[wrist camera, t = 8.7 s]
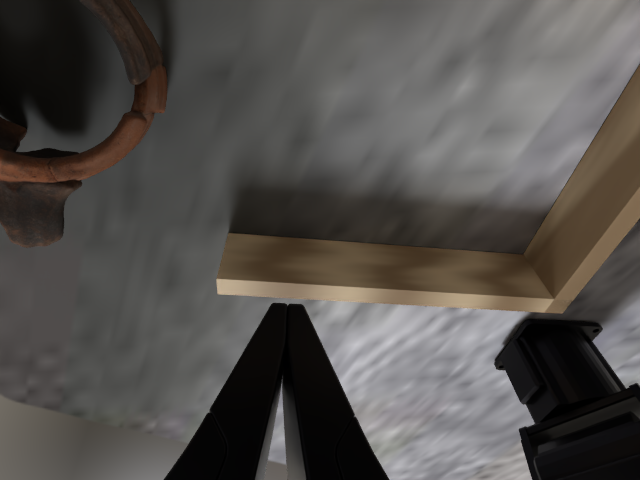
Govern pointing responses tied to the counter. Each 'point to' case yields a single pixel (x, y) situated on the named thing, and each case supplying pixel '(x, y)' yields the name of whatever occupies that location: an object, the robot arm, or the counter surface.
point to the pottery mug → (71, 167)
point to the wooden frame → (462, 265)
